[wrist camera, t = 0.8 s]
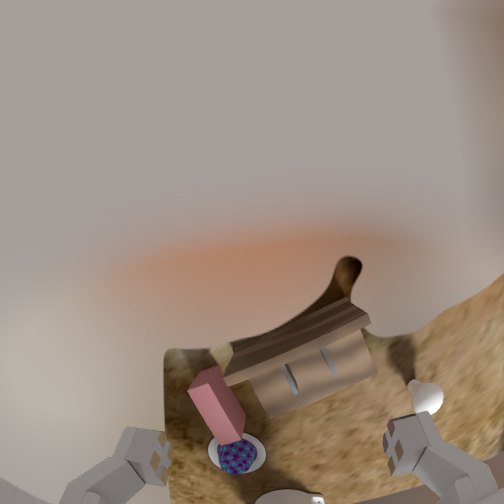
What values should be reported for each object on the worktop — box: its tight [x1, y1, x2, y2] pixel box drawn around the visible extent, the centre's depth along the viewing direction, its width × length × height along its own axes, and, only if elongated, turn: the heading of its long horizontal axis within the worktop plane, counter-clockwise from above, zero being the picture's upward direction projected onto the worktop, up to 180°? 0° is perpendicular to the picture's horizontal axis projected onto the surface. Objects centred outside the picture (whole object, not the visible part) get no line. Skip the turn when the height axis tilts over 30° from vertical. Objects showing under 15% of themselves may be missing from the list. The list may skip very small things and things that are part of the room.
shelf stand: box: [223, 297, 377, 419], centre depth 46 cm, size 16×22×13 cm
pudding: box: [208, 433, 266, 475], centre depth 51 cm, size 12×12×5 cm
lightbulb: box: [407, 379, 443, 415], centre depth 46 cm, size 6×6×11 cm
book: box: [187, 365, 246, 446], centre depth 50 cm, size 12×4×9 cm, turn 25°
